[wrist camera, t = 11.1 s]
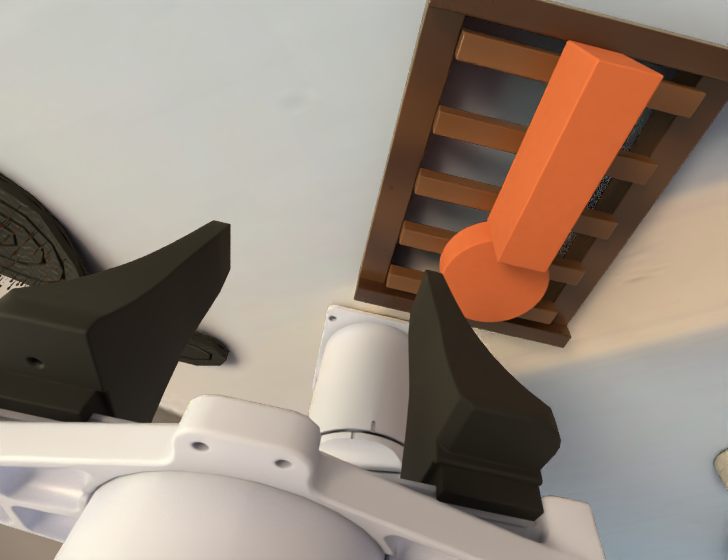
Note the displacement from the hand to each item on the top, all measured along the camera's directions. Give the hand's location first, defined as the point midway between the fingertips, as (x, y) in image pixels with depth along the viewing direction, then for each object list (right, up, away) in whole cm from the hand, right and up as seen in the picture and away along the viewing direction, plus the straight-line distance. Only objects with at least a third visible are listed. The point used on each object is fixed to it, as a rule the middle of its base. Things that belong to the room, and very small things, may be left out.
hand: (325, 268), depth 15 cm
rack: (+9, +5, +7) cm, 12 cm away
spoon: (+9, +3, +5) cm, 10 cm away
